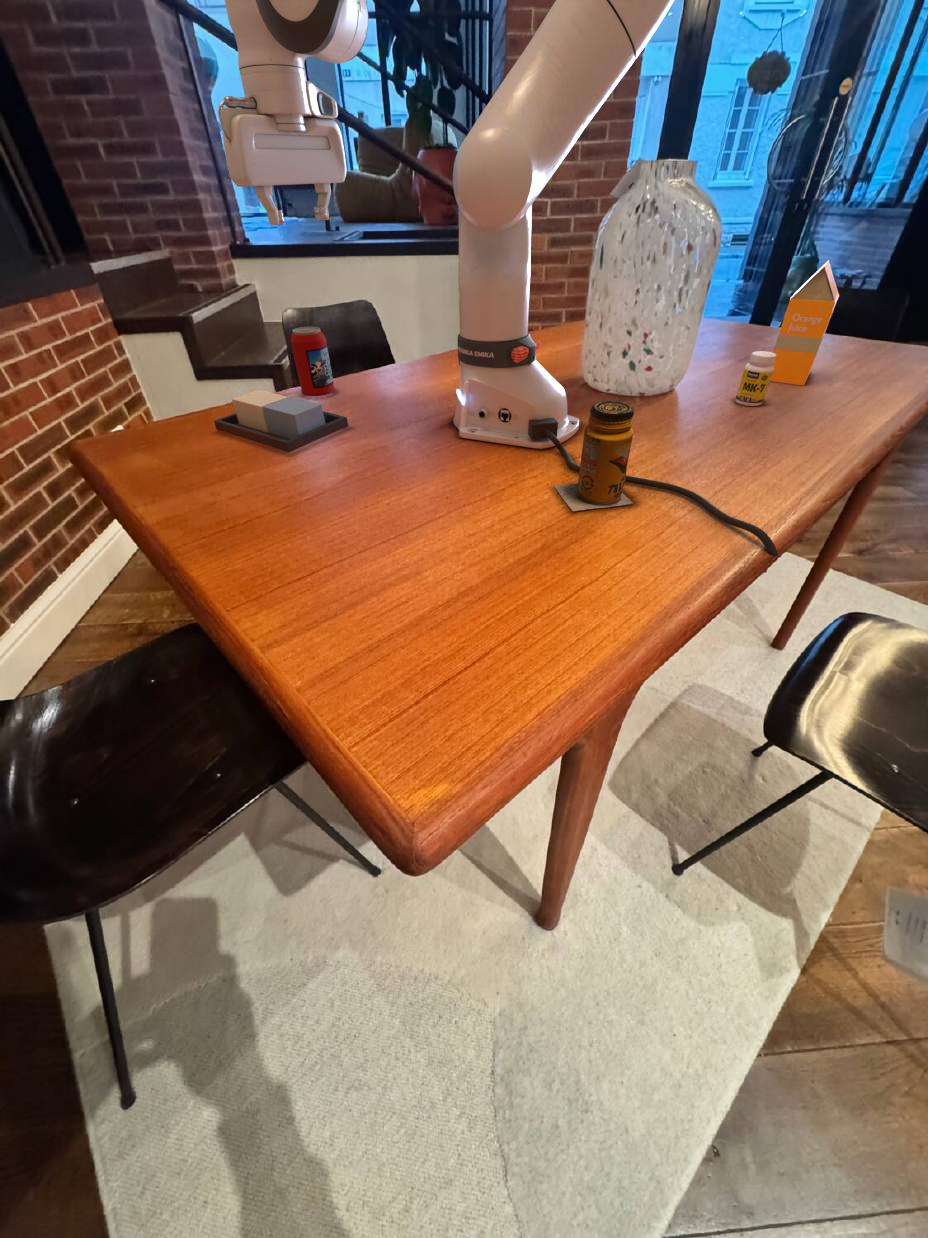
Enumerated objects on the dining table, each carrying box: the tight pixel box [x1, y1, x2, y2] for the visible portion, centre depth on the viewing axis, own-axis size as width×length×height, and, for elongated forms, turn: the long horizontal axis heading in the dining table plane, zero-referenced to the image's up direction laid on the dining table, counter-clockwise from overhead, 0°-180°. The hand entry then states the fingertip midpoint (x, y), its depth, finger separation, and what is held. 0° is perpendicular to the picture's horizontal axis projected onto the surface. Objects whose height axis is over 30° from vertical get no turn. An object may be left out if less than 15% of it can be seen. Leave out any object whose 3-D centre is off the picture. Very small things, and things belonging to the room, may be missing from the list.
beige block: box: [231, 389, 289, 433], centre depth 94 cm, size 8×6×4 cm
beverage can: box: [290, 326, 335, 397], centre depth 105 cm, size 7×7×12 cm
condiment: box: [554, 400, 635, 512], centre depth 68 cm, size 7×8×12 cm
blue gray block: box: [263, 396, 325, 439], centre depth 90 cm, size 8×6×4 cm
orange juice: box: [770, 259, 840, 386], centre depth 103 cm, size 8×9×20 cm
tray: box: [213, 410, 349, 453], centre depth 93 cm, size 20×14×2 cm
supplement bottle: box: [734, 350, 776, 407], centre depth 95 cm, size 5×5×8 cm
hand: (300, 222), depth 83 cm, fingers open, 8 cm apart
